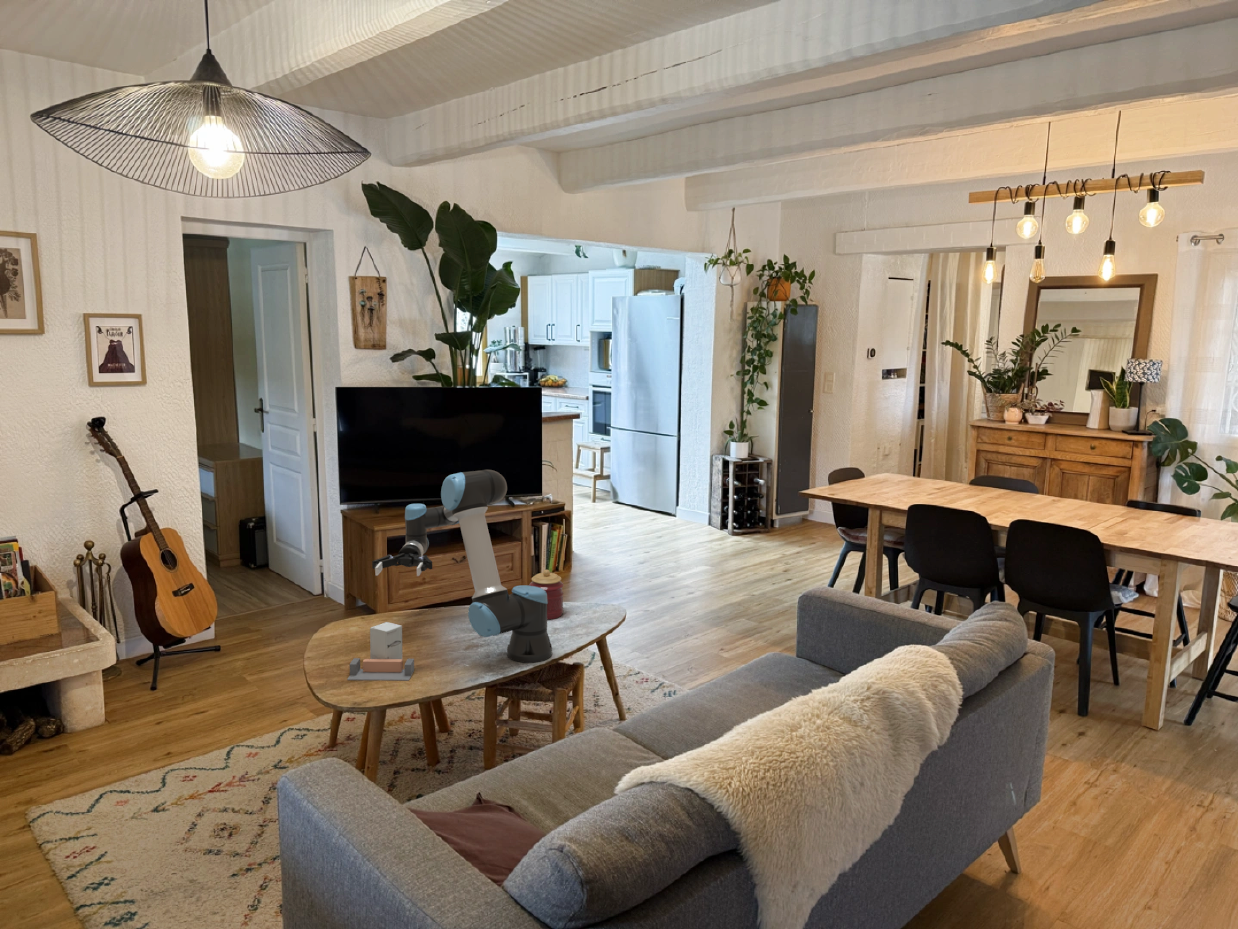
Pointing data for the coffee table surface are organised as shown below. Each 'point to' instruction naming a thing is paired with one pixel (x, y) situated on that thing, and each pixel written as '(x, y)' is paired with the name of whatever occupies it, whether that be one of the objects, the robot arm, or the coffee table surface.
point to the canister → (550, 592)
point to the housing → (399, 676)
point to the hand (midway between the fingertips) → (397, 571)
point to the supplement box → (386, 641)
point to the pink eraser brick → (382, 665)
